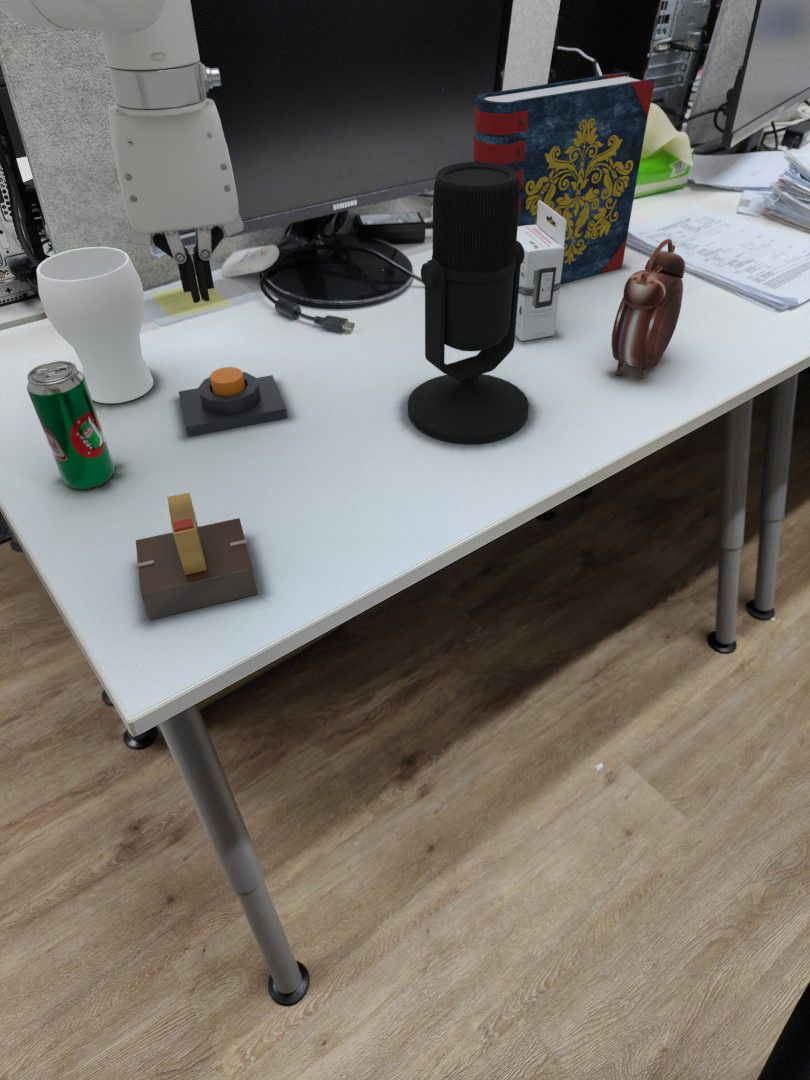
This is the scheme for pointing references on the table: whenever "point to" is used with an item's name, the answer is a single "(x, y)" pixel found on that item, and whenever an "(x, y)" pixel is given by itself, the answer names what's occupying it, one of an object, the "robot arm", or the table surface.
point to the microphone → (471, 306)
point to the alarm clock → (649, 310)
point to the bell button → (227, 381)
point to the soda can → (70, 424)
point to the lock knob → (186, 533)
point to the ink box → (540, 274)
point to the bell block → (231, 406)
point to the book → (572, 158)
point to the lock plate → (179, 592)
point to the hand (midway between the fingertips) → (200, 296)
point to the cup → (99, 318)
